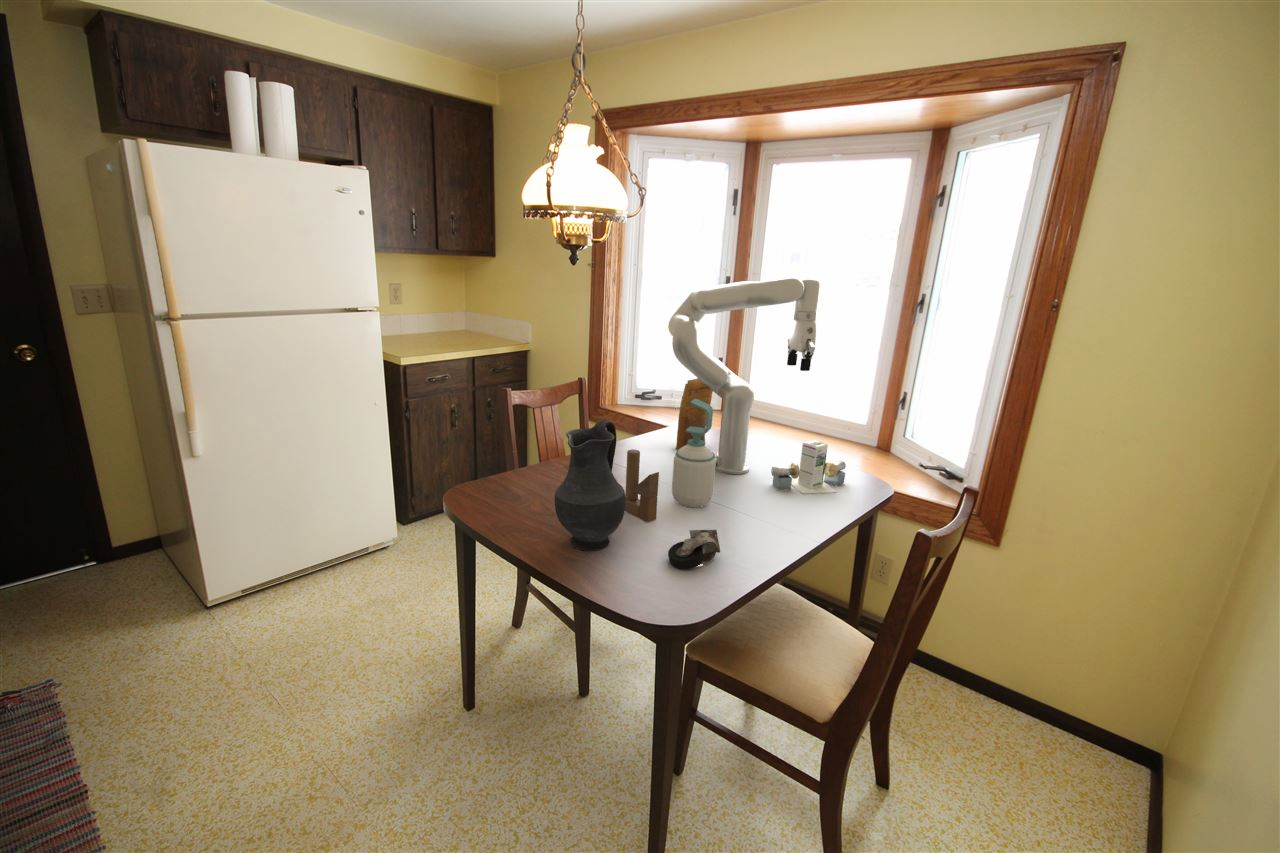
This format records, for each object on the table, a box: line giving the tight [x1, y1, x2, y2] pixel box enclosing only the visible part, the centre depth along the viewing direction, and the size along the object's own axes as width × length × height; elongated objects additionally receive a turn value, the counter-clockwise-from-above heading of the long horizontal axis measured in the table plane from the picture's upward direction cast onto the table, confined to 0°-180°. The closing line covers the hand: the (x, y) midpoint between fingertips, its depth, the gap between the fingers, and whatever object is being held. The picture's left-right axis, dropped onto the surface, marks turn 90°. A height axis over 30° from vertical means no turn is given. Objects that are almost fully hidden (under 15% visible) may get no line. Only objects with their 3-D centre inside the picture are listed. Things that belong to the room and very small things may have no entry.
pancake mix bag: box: [675, 378, 714, 450], centre depth 213 cm, size 7×19×28 cm, turn 131°
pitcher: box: [554, 419, 626, 552], centre depth 137 cm, size 17×21×30 cm
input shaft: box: [771, 462, 800, 491], centre depth 180 cm, size 8×5×8 cm, turn 101°
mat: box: [791, 477, 837, 495], centre depth 183 cm, size 12×12×1 cm
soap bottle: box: [671, 399, 716, 509], centre depth 162 cm, size 12×12×31 cm
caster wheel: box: [667, 529, 721, 571], centre depth 132 cm, size 7×11×10 cm
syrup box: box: [798, 440, 828, 489], centre depth 181 cm, size 6×6×14 cm
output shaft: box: [823, 460, 847, 487], centre depth 185 cm, size 8×5×8 cm, turn 131°
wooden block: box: [625, 449, 660, 523], centre depth 154 cm, size 4×11×18 cm, turn 42°
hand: (797, 367), depth 188 cm, fingers open, 9 cm apart
